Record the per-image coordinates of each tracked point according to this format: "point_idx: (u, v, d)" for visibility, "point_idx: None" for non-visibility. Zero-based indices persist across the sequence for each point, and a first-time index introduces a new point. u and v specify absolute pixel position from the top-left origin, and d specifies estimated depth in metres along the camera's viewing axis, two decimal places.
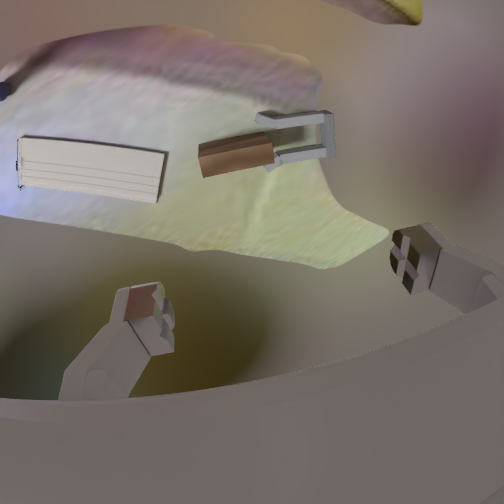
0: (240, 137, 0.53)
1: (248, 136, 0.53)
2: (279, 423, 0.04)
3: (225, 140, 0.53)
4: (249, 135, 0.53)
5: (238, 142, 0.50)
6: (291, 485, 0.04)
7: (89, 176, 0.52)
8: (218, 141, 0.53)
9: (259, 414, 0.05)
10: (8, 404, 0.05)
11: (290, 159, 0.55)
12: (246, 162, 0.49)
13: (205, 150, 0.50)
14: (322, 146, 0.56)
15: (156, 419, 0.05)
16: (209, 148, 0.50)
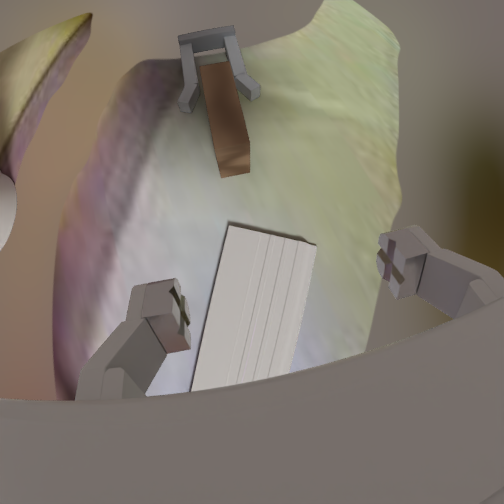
0: None
1: None
2: (279, 423, 0.04)
3: None
4: None
5: None
6: (290, 485, 0.04)
7: (257, 358, 0.34)
8: None
9: (259, 414, 0.05)
10: (8, 404, 0.05)
11: (240, 65, 0.38)
12: (227, 89, 0.31)
13: None
14: (224, 42, 0.39)
15: (156, 419, 0.05)
16: None
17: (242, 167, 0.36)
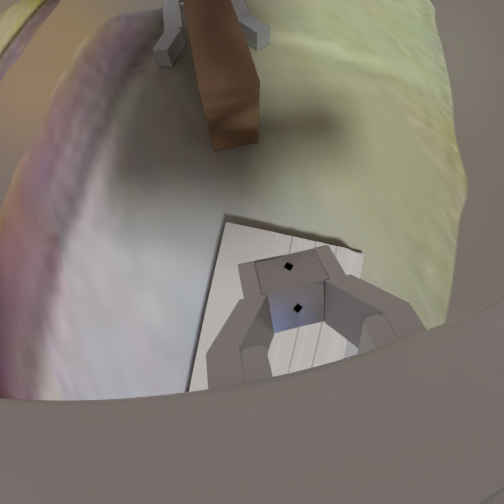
0: None
1: None
2: (279, 423, 0.04)
3: None
4: None
5: None
6: (290, 485, 0.04)
7: None
8: None
9: (259, 414, 0.05)
10: (8, 404, 0.05)
11: (241, 6, 0.24)
12: (221, 16, 0.17)
13: None
14: None
15: (156, 420, 0.05)
16: None
17: (246, 132, 0.22)
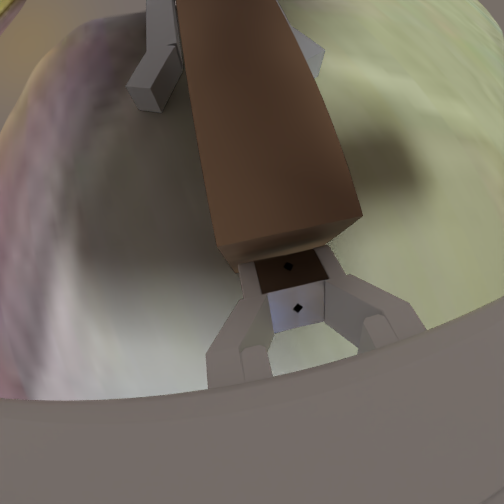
0: None
1: None
2: (279, 423, 0.04)
3: None
4: None
5: None
6: (290, 485, 0.04)
7: None
8: None
9: (259, 414, 0.05)
10: (8, 404, 0.05)
11: None
12: (255, 20, 0.08)
13: None
14: None
15: (156, 419, 0.05)
16: None
17: None
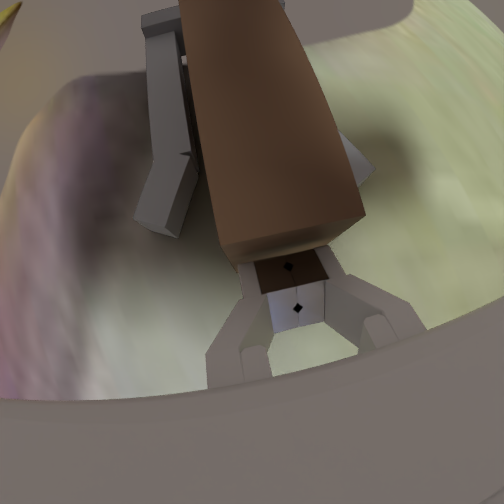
0: None
1: None
2: (279, 423, 0.04)
3: None
4: None
5: None
6: (290, 485, 0.04)
7: None
8: None
9: (259, 414, 0.05)
10: (8, 404, 0.05)
11: None
12: (257, 19, 0.08)
13: None
14: None
15: (156, 419, 0.05)
16: None
17: None
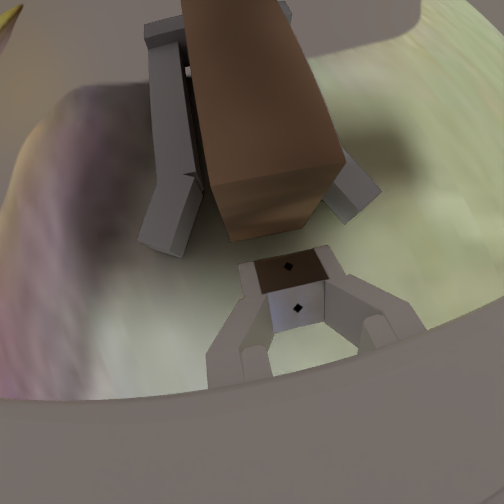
0: None
1: None
2: (279, 423, 0.04)
3: None
4: None
5: None
6: (291, 485, 0.04)
7: None
8: None
9: (259, 414, 0.05)
10: (8, 404, 0.05)
11: None
12: (250, 3, 0.09)
13: None
14: None
15: (156, 419, 0.05)
16: None
17: (289, 222, 0.14)
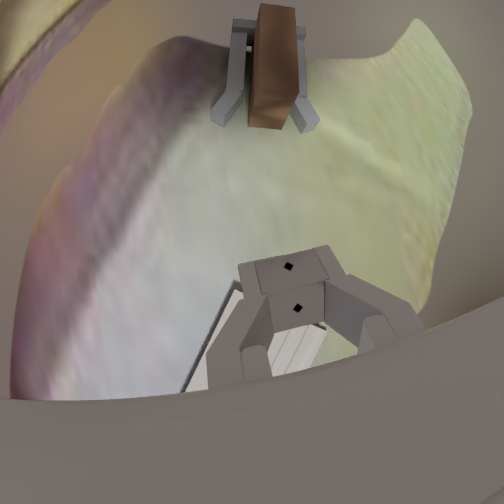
0: (251, 66, 0.31)
1: (252, 54, 0.30)
2: (279, 423, 0.04)
3: (250, 84, 0.30)
4: (252, 56, 0.31)
5: (254, 54, 0.28)
6: (290, 484, 0.04)
7: None
8: (250, 94, 0.31)
9: (259, 414, 0.05)
10: (8, 404, 0.05)
11: (301, 83, 0.30)
12: (286, 33, 0.24)
13: (253, 94, 0.27)
14: None
15: (156, 419, 0.05)
16: (253, 92, 0.27)
17: (276, 120, 0.30)
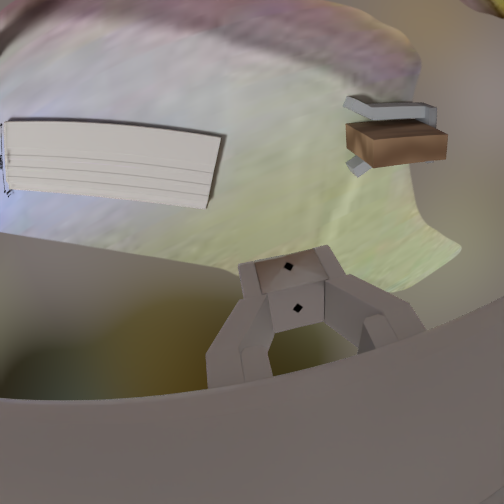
0: (396, 122, 0.38)
1: (406, 122, 0.37)
2: (279, 423, 0.04)
3: (380, 123, 0.37)
4: (405, 121, 0.38)
5: (404, 128, 0.35)
6: (290, 485, 0.04)
7: (106, 172, 0.36)
8: (371, 123, 0.38)
9: (259, 414, 0.05)
10: (8, 404, 0.05)
11: None
12: (421, 154, 0.34)
13: (369, 131, 0.34)
14: None
15: (156, 419, 0.05)
16: (372, 130, 0.35)
17: (352, 146, 0.38)
